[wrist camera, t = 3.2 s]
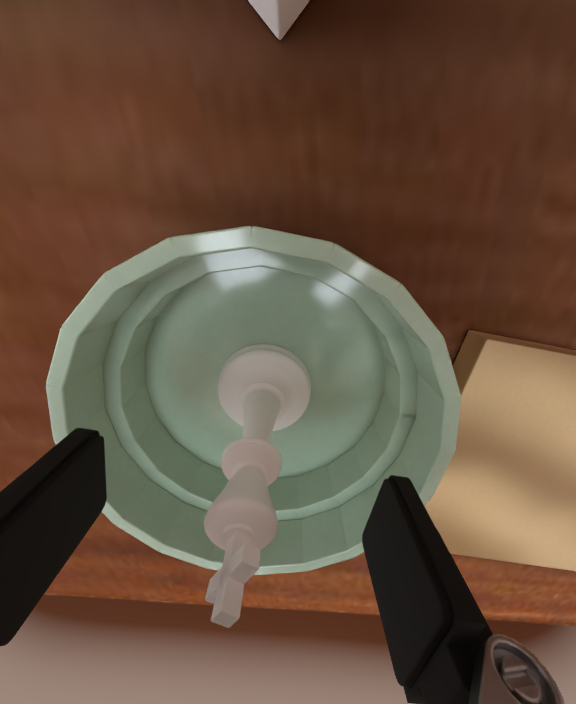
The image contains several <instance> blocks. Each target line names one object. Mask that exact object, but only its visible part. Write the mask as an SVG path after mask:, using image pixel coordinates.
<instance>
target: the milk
mask: <svg viewBox="0 0 576 704" xmlns="http://www.w3.org/2000/svg"><path fill="white" fill-rule="evenodd" d="M248 1H249V3H250V4H251V5H252V6H253V8H254V9H255V10H256V12H257V13H258V14H259V15H260V17H261V18H262V19H263V21H264V22H265V23H266V24H267V26H268V27H269V28H270V30H271V31H272V32H273V33H274V35H275V36H276V37H277V38H278V39H279V40H281V39H282V38H283V37H284V35H285V34H286V33H287V31H288V30H289V28H290V27H291V26H292V24H293V23H294V22H295V20H296V19H297V18H298V16H299V15H300V13H301V12H302V11H303V9H304V8H305V7H306V5H307V4H308V2H309V1H310V0H248Z"/></svg>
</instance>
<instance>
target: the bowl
mask: <svg viewBox="0 0 576 704" xmlns="http://www.w3.org/2000/svg"><path fill="white" fill-rule="evenodd" d="M257 344H270V345H275V346H279V347H282V348H284V349H286V350H288V351H290V352H292V353H293V354H295V355H296V356H297V357H298V358H299V359H300V360H301V361H302V362H303V364H304V365H305V367H306V368H307V370H308V372H309V375H310V379H311V394H310V400H309V404H308V406H307V409H306V410H305V412H304V413H303V415H302V416H301V417H300V418H299V419H298V420H297V421H296V422H295V423H293V424H292V425H290V426H288V427H286V428H284V429H281V430H277V431H272V435H271V438H270V442H269V443H271V444H272V445H273V446H275V447H276V448H277V450H278V451H279V453H280V455H281V458H282V468H281V471H280V473H279V475H278V477H277V479H276V480H275V481H274V482H273V483H272V484H270V485H268V489H269V495H270V498H271V501H272V503H273V506H274V509H275V512H276V516H277V522H278V528H277V533H276V535H275V537H274V539H273V540H272V542H271V543H270V544H269V545H267V546H266V547H265V548H263V549H261V551H260V561H259V569H258V570H257V571H256V572H255V573H254V574H253V575H266V574H279V573H293V572H305V571H310V570H314V569H317V568H320V567H324V566H327V565H331V564H334V563H337V562H341V561H344V560H348V559H351V558H354V557H356V556H358V555H360V554H361V553H363V552H364V548H363V544H362V534H363V531H364V529H365V526H366V523H367V521H368V518H369V516H370V513H371V511H372V508H373V506H374V503H375V501H376V498H377V496H378V493H379V491H380V488H381V486H382V483H383V481H384V479H388V478H389V476H390V475H395V476H402V477H408V478H409V479H410V480H411V482H412V483H413V485H414V487H415V489H416V491H417V493H418V495H419V497H420V499H421V501H422V503H423V504H424V505H425V504H426V503H427V502H428V501H429V500H430V499H431V498H432V497H433V495H434V493H435V491H436V489H437V487H438V485H439V483H440V481H441V479H442V477H443V475H444V473H445V471H446V469H447V467H448V465H449V463H450V462H451V460H452V458H453V456H454V454H455V450H456V442H457V433H458V424H459V415H460V406H461V394H460V390H459V387H458V384H457V380H456V377H455V373H454V370H453V366H452V363H451V359H450V356H449V352H448V349H447V345H446V342H445V339H444V337H443V335H442V334H441V333H440V331H439V330H438V329H437V328H436V326H435V325H434V324H433V322H432V321H431V320H430V319H429V317H428V316H427V315H426V314H425V312H424V311H423V310H422V308H421V307H420V306H419V305H418V303H417V302H416V301H415V299H414V298H413V297H412V296H411V294H410V293H409V292H408V290H407V289H406V288H405V287H404V285H403V284H401V283H400V282H399V281H397V280H396V279H394V278H392V277H391V276H389V275H387V274H386V273H384V272H382V271H381V270H379V269H378V268H376V267H374V266H373V265H371V264H369V263H368V262H366V261H364V260H363V259H361V258H359V257H358V256H356V255H354V254H353V253H351V252H349V251H348V250H346V249H345V248H343V247H341V246H340V245H338V244H336V243H333V242H331V241H326V240H321V239H316V238H311V237H306V236H301V235H296V234H292V233H287V232H282V231H277V230H272V229H267V228H262V227H257V226H244V227H236V228H229V229H222V230H215V231H208V232H201V233H194V234H187V235H180V236H173V237H171V238H166V239H165V240H163V241H161V242H159V243H157V244H156V245H154V246H152V247H150V248H148V249H147V250H145V251H143V252H141V253H139V254H137V255H136V256H134V257H132V258H130V259H128V260H127V261H125V262H123V263H121V264H119V265H117V266H116V267H114V268H112V269H110V270H108V271H107V272H105V273H104V274H103V275H102V276H101V277H100V278H99V279H98V281H97V282H96V283H95V284H94V286H93V287H92V288H91V289H90V291H89V292H88V293H87V294H86V296H85V297H84V298H83V300H82V301H81V302H80V303H79V305H78V306H77V307H76V308H75V310H74V311H73V312H72V313H71V315H70V316H69V317H68V318H67V320H66V321H65V322H64V323H63V325H62V327H61V329H60V332H59V336H58V340H57V343H56V347H55V351H54V355H53V359H52V362H51V366H50V370H49V374H48V378H47V382H46V384H47V385H46V391H47V398H48V405H49V413H50V420H51V427H52V434H53V439H54V442H55V444H56V445H57V444H58V443H59V442H60V441H61V440H62V439H64V438H65V437H66V436H67V435H68V434H69V433H71V432H72V431H73V430H74V429H76V428H85V429H91V430H97V431H99V433H100V436H103V437H104V446H105V468H106V490H107V500H106V504H105V506H104V508H103V510H102V513H103V514H104V515H105V516H106V517H107V518H108V519H109V520H110V521H111V522H112V523H113V524H114V525H115V524H116V526H117V527H119V528H121V529H122V530H124V531H125V532H127V533H129V534H130V535H132V536H134V537H135V538H137V539H138V540H140V541H142V542H143V543H145V544H147V545H148V546H150V547H151V548H153V549H155V550H156V551H160V553H163V554H166V555H169V556H172V557H175V558H178V559H180V560H183V561H186V562H189V563H192V564H195V565H198V566H201V567H204V568H208V569H212V570H219V569H220V568H221V567H222V565H223V560H224V555H225V550H223V549H221V548H219V547H218V546H216V545H215V544H214V543H213V542H212V541H211V540H210V539H209V537H208V536H207V534H206V532H205V528H204V520H205V516H206V513H207V511H208V509H209V508H210V506H211V505H212V503H213V502H214V500H215V499H216V498H217V496H218V495H219V494H220V493H221V492H222V491H223V489H224V488H225V486H226V484H227V482H228V481H229V480H228V479H227V478H226V476H225V475H224V473H223V470H222V462H221V459H222V454H223V452H224V450H225V449H226V447H227V446H228V445H229V444H231V443H232V442H234V441H236V440H238V439H241V438H242V436H243V427H242V426H241V425H239V424H237V423H236V422H234V421H233V420H232V419H231V418H230V417H229V416H228V415H227V414H226V413H225V411H224V410H223V408H222V406H221V404H220V401H219V398H218V381H219V376H220V372H221V370H222V367H223V366H224V364H225V362H226V361H227V360H228V359H229V358H230V357H231V356H232V355H233V354H234V353H236V352H237V351H239V350H241V349H243V348H245V347H248V346H252V345H257Z"/></svg>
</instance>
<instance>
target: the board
mask: <svg viewBox="0 0 576 704" xmlns="http://www.w3.org/2000/svg"><path fill="white" fill-rule="evenodd" d="M453 370H454V373H455V377H456V380H457V384H458V387H459V390H460V394H461V406H460V415H459V424H458V433H457V442H456V450H455V454H454V456H453V458H452V460H451V462H450V463H449V465H448V467H447V469H446V471H445V473H444V475H443V477H442V479H441V481H440V483H439V485H438V487H437V489H436V491H435V493H434V495H433V497H432V498H431V499H430V500H429V501H428V502H427V503H426V504H425V505H424V506H425V508H426V510H427V512H428V514H429V516H430V518H431V520H432V522H433V523H434V525H435V527H436V529H437V530H438V531H439V533H440V535H441V537H442V539H443V541H444V543H445V545H446V547H447V548H448V550H449V552H450V554H457V555H465V556H472V557H479V558H486V559H493V560H500V561H508V562H515V563H522V564H529V565H536V566H543V567H550V568H558V569H565V570H572V571H576V350H572V349H567V348H562V347H557V346H551V345H546V344H541V343H536V342H531V341H525V340H520V339H515V338H510V337H504V336H499V335H494V334H489V333H484V332H478V331H473V330H469V331H468V332H467V335H466V337H465V339H464V341H463V344H462V346H461V348H460V351H459V353H458V355H457V357H456V360H455V362H454V364H453Z"/></svg>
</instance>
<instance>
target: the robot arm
mask: <svg viewBox="0 0 576 704" xmlns="http://www.w3.org/2000/svg"><path fill="white" fill-rule="evenodd" d="M106 500H107V490H106V468H105V446H104V437H103V436H100V433H99V431H97V430H91V429H85V428H76V429H74V430H73V431H72V432H71V433H69V434H68V435H67V436H66V437H65V438H64V439H62V440H61V441H60V442H59V443H58V444H57V445H56V446H54V447H53V448H52V449H51V450H50V451H49V452H47V453H46V454H45V455H44V456H43V457H42V458H40V459H39V460H38V461H37V462H36V463H35V464H33V465H32V466H31V467H30V468H29V469H28V470H26V471H25V472H24V473H22V474H21V475H20V476H19V477H17V478H16V479H15V480H14V481H13V482H12V483H10V484H9V485H8V486H7V487H6V488H5V489H3V490H2V491H1V492H0V646H4V645H6V644H7V643H9V642H10V640H11V639H12V638H13V637H14V636H15V634H16V633H17V631H18V630H19V629H20V627H21V626H22V624H23V623H24V621H25V620H26V619H27V617H28V616H29V614H30V613H31V611H32V610H33V609H34V607H35V606H36V604H37V603H38V602H39V600H40V599H41V597H42V596H43V594H44V593H45V592H46V590H47V589H48V587H49V586H50V584H51V583H52V582H53V580H54V579H55V577H56V576H57V574H58V573H59V572H60V570H61V569H62V567H63V566H64V564H65V563H66V562H67V560H68V559H69V557H70V556H71V554H72V553H73V552H74V550H75V549H76V547H77V546H78V544H79V543H80V542H81V540H82V539H83V537H84V536H85V534H86V533H87V532H88V530H89V529H90V527H91V526H92V524H93V523H94V522H95V520H96V519H97V517H98V516H99V514H100V513H101V512H102V510H103V508H104V506H105V504H106ZM362 544H363V548H364V552H365V556H366V560H367V564H368V568H369V572H370V576H371V580H372V584H373V588H374V592H375V596H376V600H377V604H378V608H379V612H380V616H381V620H382V624H383V628H384V632H385V636H386V640H387V644H388V648H389V652H390V656H391V660H392V664H393V668H394V672H395V676H396V679H397V681H398V683H399V684H400V685H401V686H403V687H404V690H405V694H406V698H407V702H408V703H415V704H564V700H563V697H562V695H561V693H560V691H559V689H558V687H557V684H556V683H555V681H554V680H553V678H552V677H551V675H550V674H549V672H548V671H547V670H546V668H545V667H544V666H543V664H541V662H540V661H539V660H538V659H537V657H536V656H535V655H534V654H533V653H531V652H530V651H529V650H528V649H527V648H526V647H525V646H523V645H522V644H521V643H519V642H517V641H516V640H514V639H513V638H511V637H508V636H505V635H502V634H492V632H491V630H490V628H489V626H488V624H487V622H486V620H485V618H484V617H483V615H482V613H481V611H480V609H479V607H478V605H477V603H476V601H475V600H474V598H473V596H472V594H471V592H470V590H469V588H468V586H467V584H466V582H465V581H464V579H463V577H462V575H461V573H460V571H459V569H458V567H457V565H456V564H455V562H454V560H453V558H452V556H451V554H450V552H449V550H448V548H447V547H446V545H445V543H444V541H443V539H442V537H441V535H440V533H439V531H438V530H437V529H436V527H435V525H434V523H433V522H432V520H431V518H430V516H429V514H428V512H427V510H426V508H425V506H424V504H423V503H422V501H421V499H420V497H419V495H418V493H417V491H416V489H415V487H414V485H413V483H412V482H411V480H410V479H409V478H408V477H402V476H395V475H390V476H389V478H388V479H384V481H383V483H382V486H381V488H380V491H379V493H378V496H377V498H376V501H375V503H374V506H373V508H372V511H371V513H370V516H369V518H368V521H367V523H366V526H365V529H364V531H363V534H362Z"/></svg>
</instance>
